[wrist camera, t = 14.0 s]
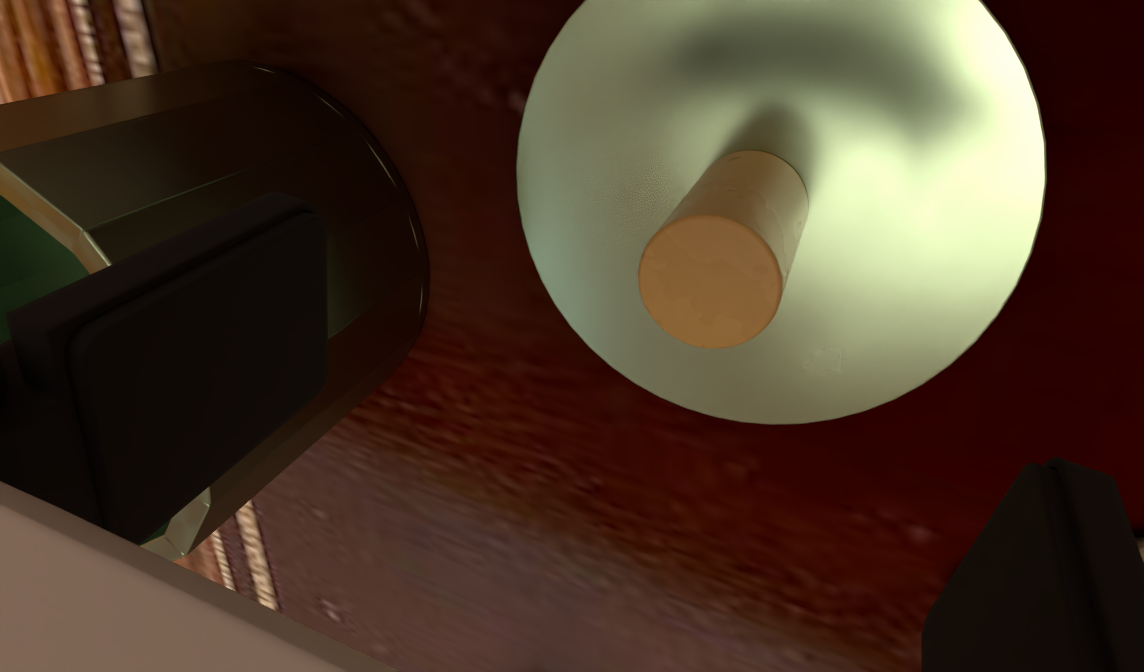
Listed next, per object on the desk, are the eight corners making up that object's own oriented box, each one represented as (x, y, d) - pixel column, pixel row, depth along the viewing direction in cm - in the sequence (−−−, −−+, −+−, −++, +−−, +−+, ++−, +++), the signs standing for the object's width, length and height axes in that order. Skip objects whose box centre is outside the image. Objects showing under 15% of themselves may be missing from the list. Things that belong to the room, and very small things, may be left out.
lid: (574, -137, 19) (444, -164, 14) (1161, -14, 16) (1295, 15, 11) (503, 322, 26) (398, 426, 21) (907, 466, 23) (910, 632, 18)
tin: (120, 20, 27) (-259, 65, 18) (445, 118, 24) (184, 227, 15) (157, 330, 33) (-108, 473, 24) (415, 434, 30) (221, 637, 22)
